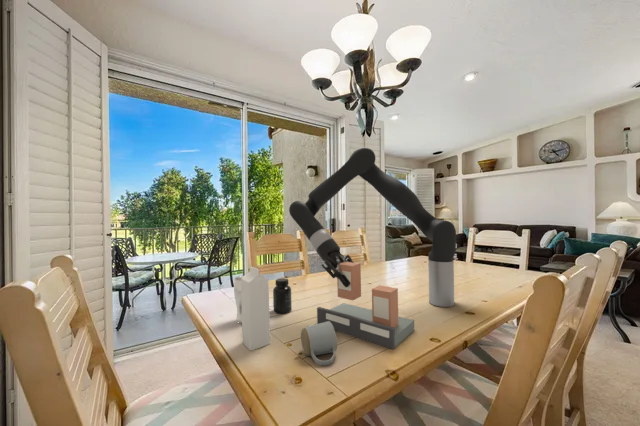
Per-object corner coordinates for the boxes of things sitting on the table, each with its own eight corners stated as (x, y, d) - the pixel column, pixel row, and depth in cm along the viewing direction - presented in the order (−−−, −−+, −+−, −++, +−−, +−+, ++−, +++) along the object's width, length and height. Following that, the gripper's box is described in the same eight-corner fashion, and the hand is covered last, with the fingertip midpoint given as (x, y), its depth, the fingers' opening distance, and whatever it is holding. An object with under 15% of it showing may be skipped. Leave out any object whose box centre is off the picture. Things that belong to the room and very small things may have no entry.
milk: (250, 351, 74) (248, 271, 74) (242, 342, 79) (239, 267, 79) (270, 344, 78) (268, 267, 78) (261, 336, 83) (259, 264, 83)
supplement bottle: (290, 307, 108) (289, 276, 108) (292, 313, 101) (292, 281, 101) (272, 308, 106) (272, 278, 106) (274, 315, 100) (273, 282, 100)
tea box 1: (346, 293, 94) (345, 261, 94) (361, 296, 91) (360, 263, 90) (337, 297, 90) (336, 264, 90) (352, 300, 87) (351, 266, 87)
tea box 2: (380, 319, 86) (379, 285, 86) (398, 324, 82) (397, 288, 82) (372, 325, 82) (371, 289, 82) (390, 330, 78) (389, 292, 78)
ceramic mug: (300, 348, 75) (299, 321, 75) (327, 343, 78) (327, 316, 78) (311, 370, 65) (311, 338, 65) (343, 363, 68) (342, 332, 68)
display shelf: (343, 310, 103) (343, 296, 103) (414, 329, 85) (413, 312, 85) (316, 324, 91) (316, 308, 91) (392, 349, 73) (392, 329, 73)
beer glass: (259, 317, 98) (258, 276, 98) (248, 325, 91) (246, 280, 91) (242, 315, 100) (241, 274, 100) (230, 323, 94) (229, 279, 93)
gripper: (316, 239, 90) (347, 281, 82) (342, 236, 101) (371, 272, 93) (305, 254, 93) (334, 295, 86) (331, 249, 104) (358, 285, 97)
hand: (353, 283), depth 89 cm, fingers closed on tea box 1, 5 cm apart
